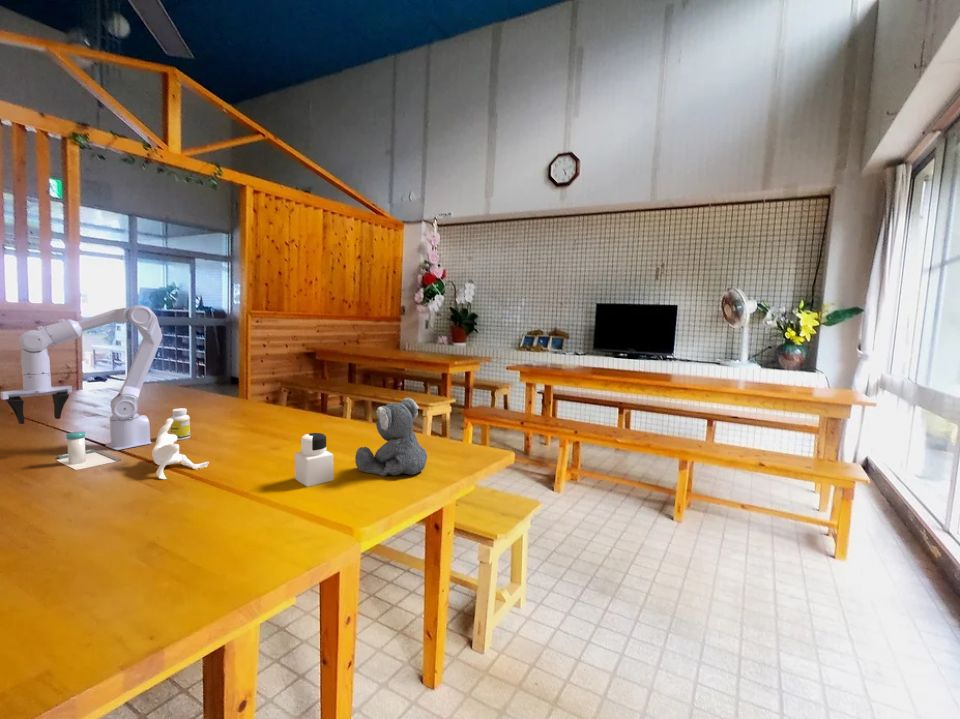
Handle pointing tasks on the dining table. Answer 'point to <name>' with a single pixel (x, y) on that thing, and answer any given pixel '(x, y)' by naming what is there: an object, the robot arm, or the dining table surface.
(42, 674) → the dining table surface
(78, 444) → the white teal cylinder
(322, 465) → the medicine bottle
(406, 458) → the koala plush
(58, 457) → the green striped bar
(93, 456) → the white rectangular slab
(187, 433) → the supplement bottle
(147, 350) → the robot arm
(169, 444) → the person figurine
